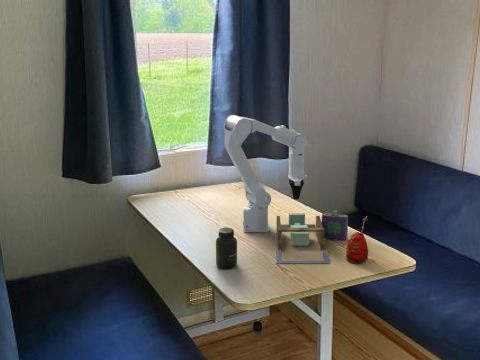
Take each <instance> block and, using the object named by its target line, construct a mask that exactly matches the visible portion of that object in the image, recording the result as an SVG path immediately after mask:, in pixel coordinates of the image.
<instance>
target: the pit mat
mask: <svg viewBox="0 0 480 360" xmlns="http://www.w3.org/2000/svg"><path fill="white" fill-rule="evenodd" d="M305 225H307V226H308V228H316V223H314V224H313V223H312V224H306V223H305ZM281 228H290V226H289V223H287V224H282V223H281Z"/></svg>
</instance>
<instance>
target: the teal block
mask: <svg viewBox="0 0 480 360" xmlns="http://www.w3.org/2000/svg"><path fill="white" fill-rule="evenodd" d="M288 224H289V226H290V228H308V226H307V225H305V224H306V214H305V212H304V213H303V212H301V213H298V212H296V213H294V212H293V213H291V212H290V213H288ZM289 234H290V235H289V237H290V243H291V246H293V247H294V246H296V247H297V246H298V247H299V246H300V247H302V246H306V247H308V246H310V232H289Z"/></svg>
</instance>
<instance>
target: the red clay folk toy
mask: <svg viewBox="0 0 480 360" xmlns="http://www.w3.org/2000/svg"><path fill="white" fill-rule="evenodd" d="M367 218H368V216H366V217H364V218H362V221H363V223H362V226H361V231H360V232H359V231H355V232H354V233H353V234H351V236H350V239H347V246H346V253H345V254H346V257H345V258H346V260H347V261H349V263H352V264H355V263H357V264H360V263H363V262H365V261H367V260H368V258H369V249H368V243H367V239H366V237H365V235H364V233H363V230H364V229H365V226H364V225H365V222H366V221H367Z"/></svg>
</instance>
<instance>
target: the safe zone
mask: <svg viewBox="0 0 480 360" xmlns="http://www.w3.org/2000/svg"><path fill="white" fill-rule="evenodd" d="M281 251H282V250H278V249H276V250H275V254H276V255H275V256H276V257H275V258H276V264H277V265H279V264H281V265H288V264H290V265H291V264H292V265H293V264H294V265H296V264H297V265H298V264H299V265H301V264H302V265H303V264H304V265H305V264H308V265H311V264H313V265H315V264H317V265H318V264H319V265H321V264H323V265H325V264H326V265H327V264H331V262H330V258H329V255H328V251H327V249H324V250H321V253H322V257H323V259H324V260H282V254H281V253H282V252H281Z"/></svg>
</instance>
